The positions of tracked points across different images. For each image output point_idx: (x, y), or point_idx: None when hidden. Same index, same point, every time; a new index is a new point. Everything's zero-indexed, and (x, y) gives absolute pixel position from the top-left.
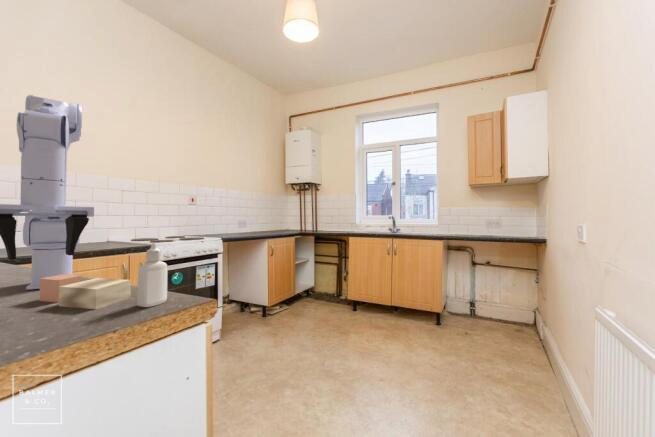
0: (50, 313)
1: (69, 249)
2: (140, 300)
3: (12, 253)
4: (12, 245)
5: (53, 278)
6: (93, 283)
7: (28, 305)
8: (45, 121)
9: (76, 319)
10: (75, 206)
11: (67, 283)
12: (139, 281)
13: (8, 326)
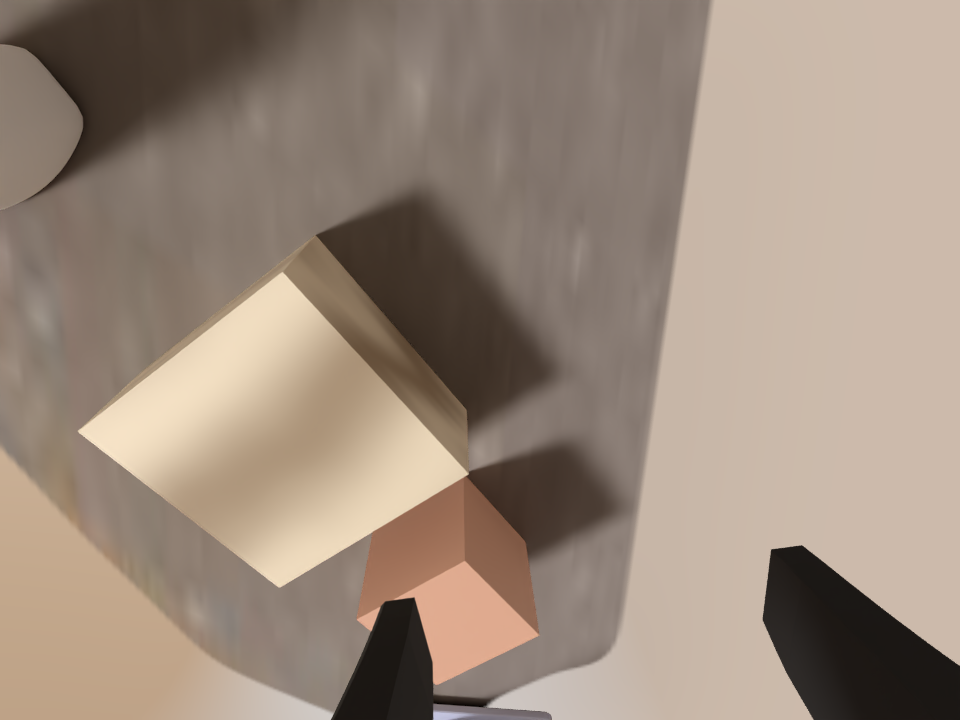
0: (508, 297)
1: (408, 643)
2: (34, 84)
3: (828, 579)
4: (888, 639)
5: (485, 610)
6: (299, 453)
7: (567, 492)
8: None
9: (412, 77)
10: None
11: (425, 558)
12: None
13: (674, 178)
